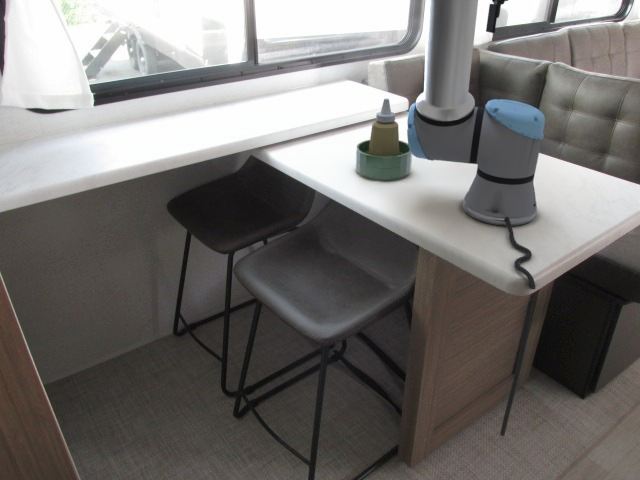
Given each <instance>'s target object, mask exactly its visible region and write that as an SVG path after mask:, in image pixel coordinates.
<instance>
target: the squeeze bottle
mask: <svg viewBox="0 0 640 480" xmlns="http://www.w3.org/2000/svg"><path fill="white" fill-rule="evenodd" d="M381 105H382V106H381V110H380V111H378V112H376V113H375V115H376V116H375V119H376V120H375V121H373V122H372V124H371V131H370V137H369V138H370V139H369V140H370V145H369V152H368V154H369V155H374V156H382V157H389V156H398V155H399V140H400V136H399V135H400V132H399V123H398V122H397V121H396V113H395V112H392V109H391V103H390V99H389V98H384V99H383V101H382V104H381Z"/></svg>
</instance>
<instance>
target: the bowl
mask: <svg viewBox="0 0 640 480" xmlns="http://www.w3.org/2000/svg"><path fill="white" fill-rule="evenodd" d="M369 145H370V139H366V140H363V141H361V142H359V143H357V144H356V147H355V170H356V172H357V173H359V175H360V176H361V177H363V178H366V179H369V180H372V181H382V182H388V181H389V182H391V181H396V180H401V179H403V178H405V177H406V176H408V175H409V174H410V173H411V170H412V163H413V162H412V161H413V154H412V153H411V151H410V149H409V145H408V142H405V141H403V140H400V139H399V155H398V156H389V157H382V156H374V155H369V154H368V152H369Z"/></svg>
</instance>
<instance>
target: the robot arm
mask: <svg viewBox="0 0 640 480" xmlns="http://www.w3.org/2000/svg"><path fill="white" fill-rule="evenodd" d="M491 1H492V3H489V5H488V12H487V13H488V14H487V20H486V28H485V32H486V33H491V34H495V33H496V26H497V22H498V21H497V19H499V18H500V15H501V14H500V13H501V8H502V5H504V4H505V2H508V1H509V0H491ZM478 6H479V0H426V14H425V15H426V17H425V19H426V20H425V45H424V46H425V47H424V49H425V50H424V51H425V52H424V78H423V79H424V80H423V92H421V93H419V95H418V97H417V98H416V101H415V102H414V103H412V104H411V105H410V108H409V110H408V114H407V120H406V121H407V129H406V135H407V137H406V138H407V143H408V145H409V149H410V151H411V153H412V156H414V157H415V158H417V159H423V160H428V161H433V162H434V161H442V162H450V163H459V164H461V163H462V164H471V165H477V167H476V174H475V176H474V178H473V180H472V183H471V185H470V187H469V189H468V191H467V192H466V194H465V196H464V198H463V205H462V208H463V209H462V210H463V211H464V213H466V215H468V216H469V217H471V218H473V219H475V220H476V221H479V222H482V223H485V224H489V225H495V226H504V227H506V228H507V230H508V231H507V232H508V236H509V241H510V244H512V246H513V247H515V249H518V250H519V251H521V252H524V253H526V254H525V255H523V256H520V257H517V259H516V260H515V261H514V267H515V268H516V269H517V270H518V271H519V272H520V273H522V274H523V275H525V277H526V278H527V281H528V285H529V288H530V289H531V290H532V291H533V290H536V283H535V280H534V277H533V276H532V273H530V272H529V270H527V269H526V268H524V267H523V266H522V265H521V264H520V263H522V262H525V261H528V260H530V259H531V258H532V256H533V253H532V251H531V250H530V249H529V248H527V247H525V246H523V245H521V244H520V243H518V242H517V241H516V238H515V235H514V230H513V226H514V227H516V226H521V225H526V224H528V223H530V222H532V221H533V220H535V218H536V214H537V210H538V205H537V200H536V192H535V191H536V190H535V184H534V181H535V174H536V169H537V165H538V160H539V156H540V149H541V145H542V140H543V139H544V137H545V135H544V130H545V123H546V118H545V115H544V113H543V112H542V111H541V110H540V109H539V108H536V107H534V106H532V105H530V104H528V103H525V102H521V101H516V100H511V99H502V98H501V99H490V100H488V101H487V103H486V104H485V106H484V107H479V106H476V100H475V98H474V96H473V95H472V93H470V92H469V89H470V80H471V79H470V78H471V71H472V62H473V53H474V52H473V51H474V42H475V34H476V26H477V14H478ZM534 304H535V299H533V300H530V301H529V300H528V303H527V307H526V311H525V312H526V313H525V319H524V326H523V331H522V338H521V341H520V346H519V353H518V357H517V362H516V367H515V370H514V376H513V380H512V382H511V383H512V384H511V386H510V391H509V395H508V399H507V402H506V403H507V404H506V406H505V412H504V415H503V419H502V424H501V428H500V433H499V434H500V436H501V437H504V436H506V435H505V434H506V431H507V426H508V423H509V418H510V414H511V410H512V406H513V402H514V398H515V395H516V390H517V387H518V382H519V379H520V374H521V371H522V366H523V361H524V357H525V353H526V347H527V342H528V336H529V333H530V332H529V330H530V324H531V318H532V314H533V308H534Z"/></svg>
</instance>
